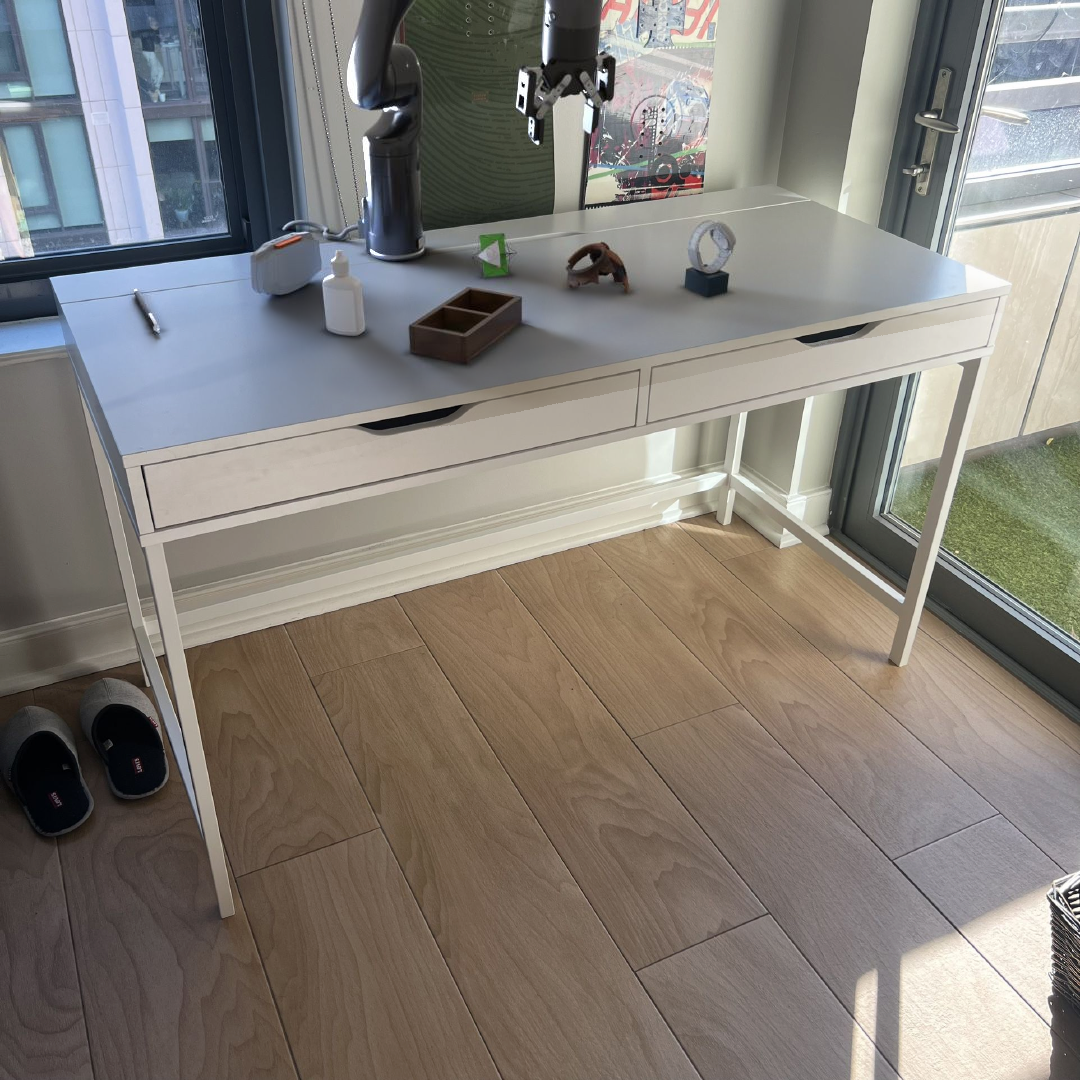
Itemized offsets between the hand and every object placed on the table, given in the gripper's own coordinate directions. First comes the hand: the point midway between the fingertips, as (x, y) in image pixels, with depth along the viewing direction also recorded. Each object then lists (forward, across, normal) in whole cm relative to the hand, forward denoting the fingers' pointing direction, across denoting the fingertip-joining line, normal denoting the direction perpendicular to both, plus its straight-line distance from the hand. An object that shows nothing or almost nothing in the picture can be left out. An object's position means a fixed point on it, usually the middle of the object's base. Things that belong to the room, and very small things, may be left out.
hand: (562, 136), depth 149 cm
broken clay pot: (+28, -10, -1) cm, 29 cm away
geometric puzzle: (+30, +2, -14) cm, 33 cm away
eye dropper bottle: (+25, +33, -4) cm, 42 cm away
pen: (+28, +56, -25) cm, 68 cm away
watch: (+27, -24, +8) cm, 37 cm away
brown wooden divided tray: (+24, +18, +7) cm, 31 cm away
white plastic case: (+29, +34, -24) cm, 51 cm away
